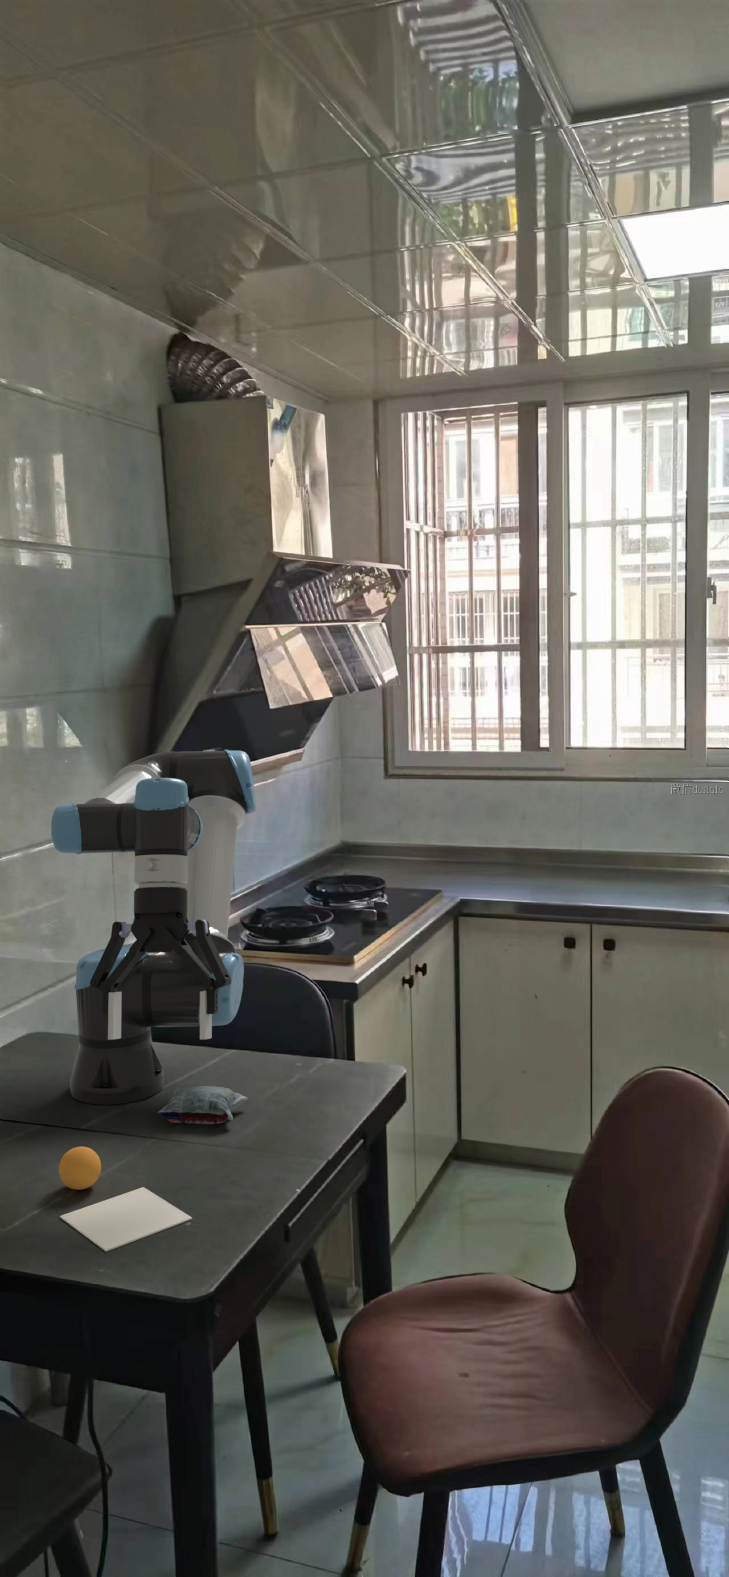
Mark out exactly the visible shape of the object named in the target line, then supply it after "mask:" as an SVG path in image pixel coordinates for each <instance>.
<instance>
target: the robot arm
mask: <svg viewBox="0 0 729 1577" xmlns="http://www.w3.org/2000/svg"><path fill="white" fill-rule="evenodd" d="M253 777H254V776H253V770H252V764H251V759H250V757H249V754H247V752H245V751H242V750H231V749H230V750H229V749H223V750H204V751H203V750H201V751H200V750H197V751H194V750H193V751H191V750H189V751H187V750H186V751H163V752H158V753H154V754H150V755H147V756H145V757H143V758H140V759H137V760H135V761H133V762H131V763H129V764H127V765H126V766H124V767H122V768H121V769H120V770H118V771H117V772H116V774H115V775H114V777H113V778H112V780H111V783H110V784H109V785H107V786H106V787H105V788H103V789H102V790H100V792H98V793H97V794H95V795H94V796H93V797H92V798H89V800H87V801H85V802H84V803H75V802H72V803H68V804H67V803H66V804H60V805H58V806H56V808H54V810H53V812H52V816H51V820H50V831H51V832H50V833H51V840H52V844H53V846H54V848H55V850H56V851H58V852H59V853H62V854H76V855H81V854H96V853H97V854H103V853H107V854H108V853H109V854H110V853H134V866H133V867H134V875H133V876H134V877H133V879H134V880H133V881H134V882H133V883H134V885H137V886H138V888H135V890H134V891H133V915H134V919H133V921H132V923H126V922H125V921H114V922H113V923H112V925H111V934H110V938H109V940H108V943H107V945H106V947H105V948H101V949H98V950H95V951H93V952H90V953H88V954H86V955H84V956H83V957H82V958H80V959H79V960H78V962H77V964H76V966H75V984H74V989H75V996H76V999H75V1000H76V1013H77V1028H78V1029H77V1030H78V1031H77V1032H78V1050H77V1052H76V1056H75V1059H74V1064H73V1067H72V1071H71V1075H70V1080H69V1088H70V1089H69V1090H70V1092H69V1093H70V1095H71V1097H72V1098H73V1099H75V1100H76V1101H79V1102H82V1103H86V1104H91V1105H120V1104H126V1103H132V1102H137V1101H140V1100H144V1099H146V1098H149V1097H152V1096H153V1095H155V1094H157V1093H158V1092H160V1091H161V1090H162V1089H163V1088H164V1086H165V1076H164V1074H165V1073H164V1068H163V1066H162V1064H161V1060H160V1058H159V1056H158V1053H157V1051H156V1048H155V1045H154V1043H153V1040H152V1029H151V1028H174V1027H175V1028H177V1027H178V1028H182V1027H183V1028H186V1027H187V1028H189V1027H191V1028H193V1027H195V1028H198V1027H199V1040H209V1039H212V1038H213V1036H212V1033H213V1029H212V1028H213V1026H214V1027H215V1026H225V1025H229V1024H230V1023H231V1022H232V1021H233V1020H234V1019H235V1017H236V1016H237V1014H238V1011H239V1009H240V1008H239V1007H240V1004H241V1000H242V994H243V988H244V976H245V975H244V974H245V965H244V959H243V956H241V954H239V953H237V952H236V951H237V950H236V947H235V944H234V943H233V942H232V941H231V940H230V939H228V936H229V935H228V934H229V924H230V913H231V900H232V887H233V878H234V874H233V873H234V863H235V854H236V839H237V830H239V829H241V828H242V827H243V825H244V824H245V823H246V819H247V815H250V814H251V813H255V812H256V809H257V804H256V801H257V800H256V793H255V786H254V784H255V783H254V778H253ZM130 933H131V934H132V935H133V937H134V938H135V941H134V942H133V943H129V944H125V942H126V938H128V937H129V936H130ZM150 953H151V954H150ZM155 953H156V954H155ZM157 953H164V954H157Z"/></svg>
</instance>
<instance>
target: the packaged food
mask: <svg viewBox="0 0 729 1577" xmlns="http://www.w3.org/2000/svg"><path fill="white" fill-rule="evenodd" d="M173 1091H174V1092H173V1094H172V1095H171V1096H170V1098H169V1101H168V1103H167V1104H165V1105H164V1106H163V1107H162V1108H161V1109H160V1110H159V1111H158V1112H156V1114H157V1115H159V1116H160V1117H161V1118H164V1119H165V1120H167V1121H168V1122H170V1123H172V1124H174V1123H175V1124H195V1125H216V1124H219V1125H220V1124H222V1123H225V1122H226V1121H227V1120H229V1121H234V1116H233V1114H232V1111H234V1109H236V1108H238V1106H240V1105H241V1104H242V1103H243V1102H246V1101H248V1100H249V1099H248V1097H247V1096H244V1095H242V1093H241V1094H240V1093H238V1092H234V1091H233V1090H231V1089H230V1088H228V1087H227V1088H226V1087H222V1086H213V1085H189V1086H184V1087H180V1086H179V1087H177V1088H176V1089H174V1090H173Z"/></svg>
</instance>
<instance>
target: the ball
mask: <svg viewBox="0 0 729 1577" xmlns="http://www.w3.org/2000/svg"><path fill="white" fill-rule="evenodd" d="M101 1171H102V1162H101V1159H100V1155H98V1153H97V1152H96V1151H95V1150H93V1148H90V1147H87V1146H76V1147H73V1148H71V1149H69V1150H67V1152H65V1153H64V1154H63V1156H62V1158H61V1159H60V1162H59V1165H58V1175H59V1177H60V1180H61V1181H62V1183H63V1184H64V1185H65V1186H66V1187H68V1188H69V1189H72V1190H77V1191H78V1190H79V1191H80V1190H85V1189H88V1188H90V1187H91V1186H93V1185H94V1184H95V1183H96V1182H97V1180H98V1179H99V1177H100V1175H101Z"/></svg>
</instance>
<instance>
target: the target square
mask: <svg viewBox="0 0 729 1577" xmlns="http://www.w3.org/2000/svg"><path fill="white" fill-rule="evenodd" d="M59 1218H60V1219H61V1220H63V1221H64V1222H65V1223H67V1224H68V1225H69V1226H71V1227H72V1228H73V1229H75V1230H76V1231H77V1232H79V1234H81V1235H83V1236H84V1237H85V1238H87V1239H89V1241H90V1242H92V1243H93V1244H95V1245H96V1246H98V1247H99V1248H100V1249H102V1250H103V1251H104V1252H106V1253H107V1252H109V1251H112V1250H115V1249H117V1248H120V1247H122V1246H125V1245H128V1244H130V1243H133V1242H135V1241H139V1240H141V1239H144V1238H147V1237H149V1236H152V1235H155V1234H156V1233H159V1232H162V1231H165V1230H167V1229H168V1230H169V1228H173V1227H175V1226H178V1225H180V1224H183V1223H187V1222H188V1221H191V1220H193V1217H192V1216H190V1215H189V1214H187V1213H186V1212H184V1211H182V1209H179V1208H178V1207H176V1206H174V1205H173V1204H171V1203H170V1202H168V1201H166V1200H165V1199H163V1198H162V1197H160V1196H159V1195H157V1194H155V1193H154V1192H152V1191H150V1190H149V1189H147V1188H145V1187H144V1186H142V1187H140V1188H137V1189H134V1190H130V1191H128V1192H125V1193H122V1194H120V1195H116V1196H114V1197H111V1198H108V1199H105V1200H102V1201H99V1202H97V1203H94V1204H91V1205H88V1206H85V1207H82V1208H80V1209H76V1210H73V1211H71V1212H68V1213H65V1214H62V1215H60V1216H59Z"/></svg>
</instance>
